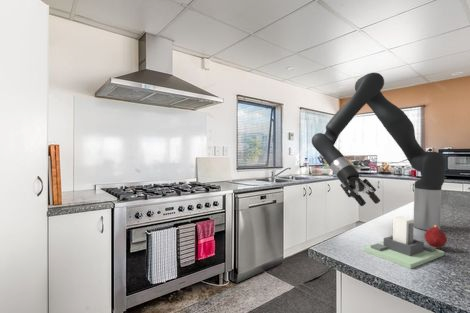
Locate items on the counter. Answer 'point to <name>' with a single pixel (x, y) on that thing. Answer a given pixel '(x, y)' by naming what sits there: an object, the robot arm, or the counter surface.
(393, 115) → the robot arm
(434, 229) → the onion
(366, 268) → the counter surface
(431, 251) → the board
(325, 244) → the counter surface
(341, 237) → the counter surface
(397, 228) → the plug
